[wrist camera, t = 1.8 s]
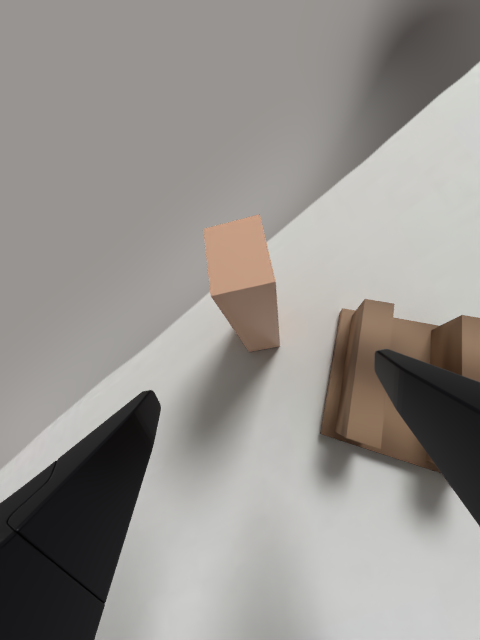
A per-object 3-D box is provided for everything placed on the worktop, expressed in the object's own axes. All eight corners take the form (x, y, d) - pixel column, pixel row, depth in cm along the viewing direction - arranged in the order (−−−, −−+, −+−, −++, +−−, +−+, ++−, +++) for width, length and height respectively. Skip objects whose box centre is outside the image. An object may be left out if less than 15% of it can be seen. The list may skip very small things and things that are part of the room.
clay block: (279, 346, 22) (275, 281, 10) (249, 352, 22) (210, 295, 10) (271, 308, 23) (259, 214, 11) (243, 314, 23) (203, 228, 12)
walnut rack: (466, 480, 16) (527, 506, 12) (320, 433, 18) (330, 441, 15) (465, 334, 19) (514, 316, 15) (340, 311, 22) (353, 291, 18)
